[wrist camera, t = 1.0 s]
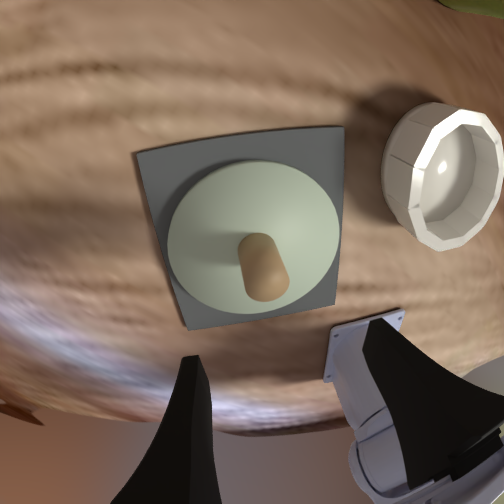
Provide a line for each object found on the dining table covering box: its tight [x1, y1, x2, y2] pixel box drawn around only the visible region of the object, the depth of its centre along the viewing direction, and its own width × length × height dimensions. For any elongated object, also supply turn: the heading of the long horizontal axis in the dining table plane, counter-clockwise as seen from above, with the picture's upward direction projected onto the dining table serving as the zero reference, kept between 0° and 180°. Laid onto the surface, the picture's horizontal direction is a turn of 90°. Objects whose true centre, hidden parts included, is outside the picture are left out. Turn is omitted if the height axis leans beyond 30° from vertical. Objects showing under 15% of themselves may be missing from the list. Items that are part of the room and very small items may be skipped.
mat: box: [137, 126, 344, 331], centre depth 19 cm, size 14×12×1 cm
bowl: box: [381, 102, 504, 252], centre depth 17 cm, size 10×10×4 cm
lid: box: [167, 160, 339, 314], centre depth 17 cm, size 11×11×4 cm
